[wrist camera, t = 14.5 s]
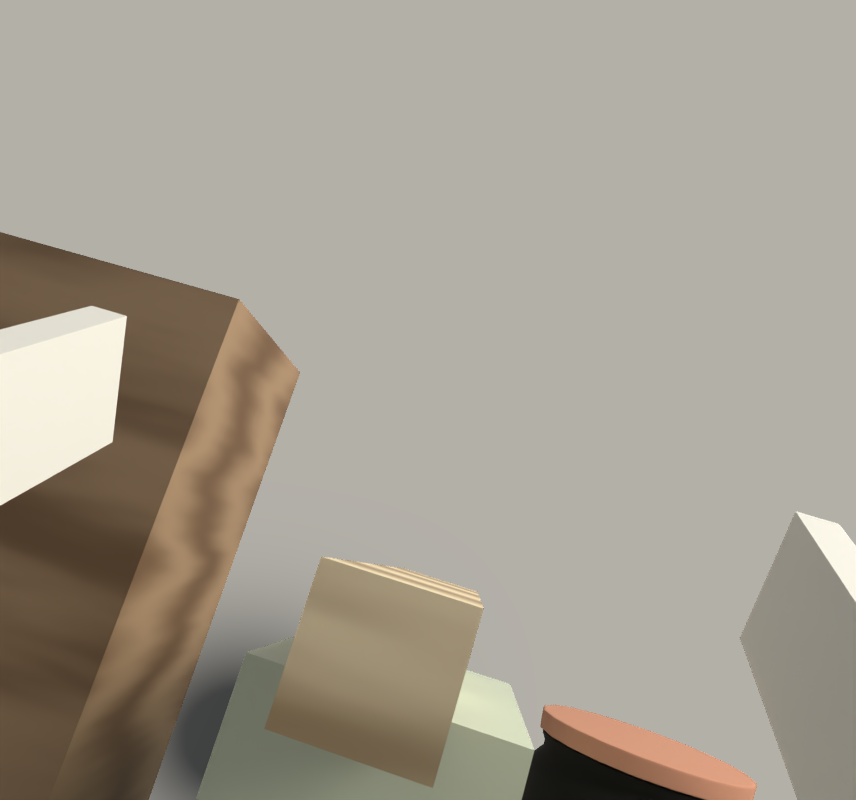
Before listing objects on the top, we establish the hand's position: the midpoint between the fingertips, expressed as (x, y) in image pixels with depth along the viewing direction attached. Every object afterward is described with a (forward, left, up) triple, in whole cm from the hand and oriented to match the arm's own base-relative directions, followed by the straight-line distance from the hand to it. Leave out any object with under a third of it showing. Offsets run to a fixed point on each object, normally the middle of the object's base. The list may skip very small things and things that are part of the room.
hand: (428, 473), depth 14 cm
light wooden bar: (-2, +12, -6) cm, 13 cm away
